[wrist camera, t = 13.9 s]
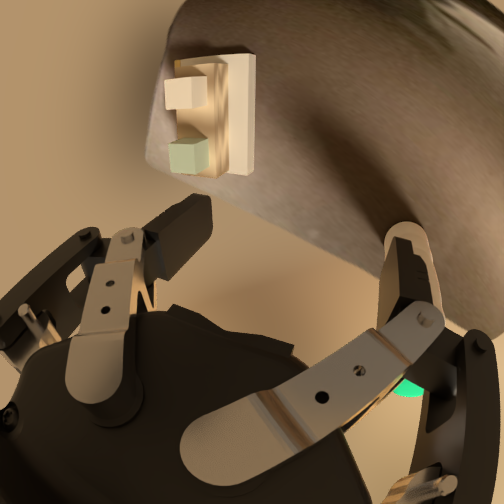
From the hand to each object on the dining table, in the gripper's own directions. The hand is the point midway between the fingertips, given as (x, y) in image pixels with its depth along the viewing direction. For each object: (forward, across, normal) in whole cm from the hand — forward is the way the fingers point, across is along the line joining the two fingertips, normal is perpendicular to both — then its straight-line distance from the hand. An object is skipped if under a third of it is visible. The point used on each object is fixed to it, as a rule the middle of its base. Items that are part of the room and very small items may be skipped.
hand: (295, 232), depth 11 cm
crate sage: (+22, +19, +4) cm, 29 cm away
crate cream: (+22, +19, -5) cm, 29 cm away
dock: (+28, +19, -1) cm, 34 cm away
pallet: (+26, +19, 0) cm, 32 cm away
